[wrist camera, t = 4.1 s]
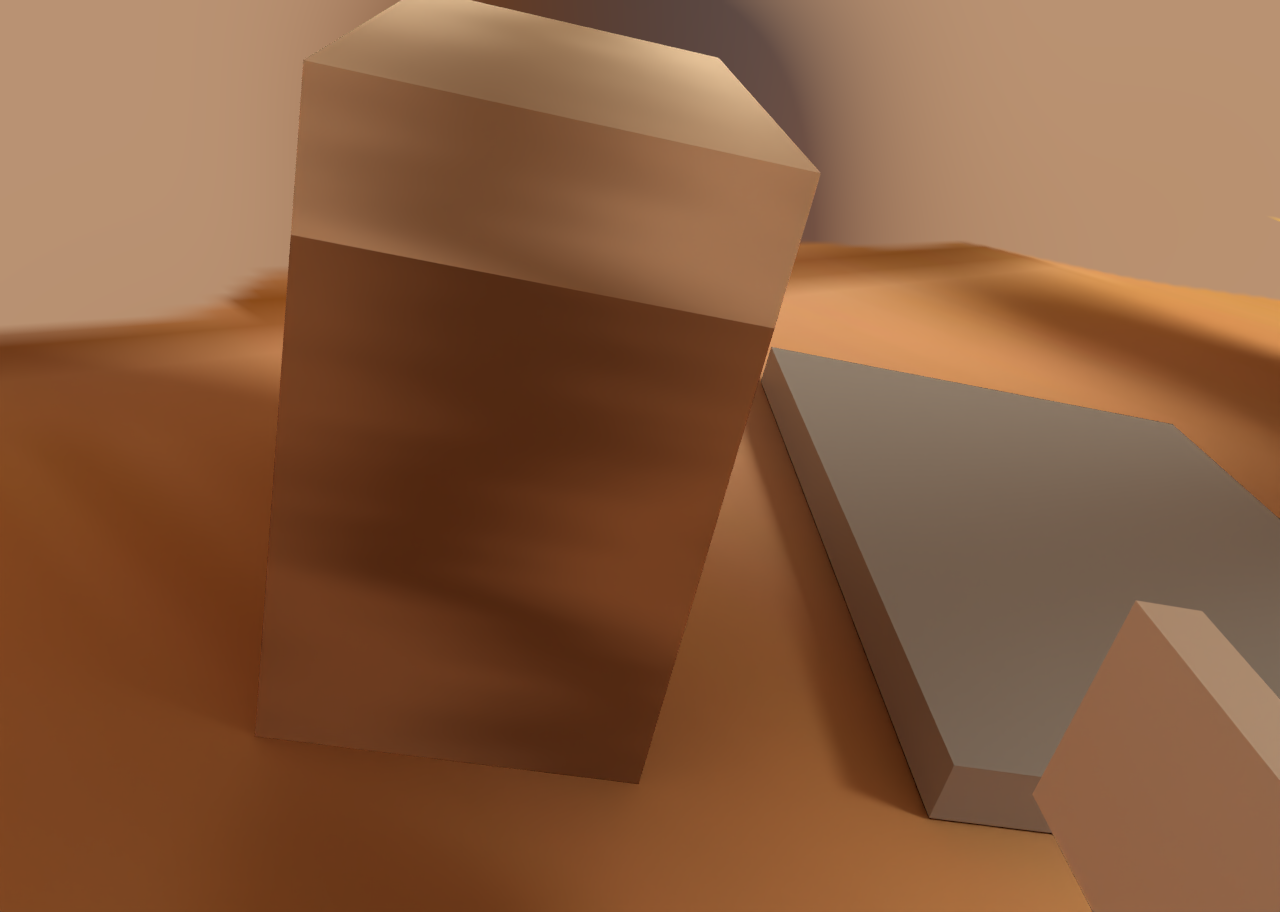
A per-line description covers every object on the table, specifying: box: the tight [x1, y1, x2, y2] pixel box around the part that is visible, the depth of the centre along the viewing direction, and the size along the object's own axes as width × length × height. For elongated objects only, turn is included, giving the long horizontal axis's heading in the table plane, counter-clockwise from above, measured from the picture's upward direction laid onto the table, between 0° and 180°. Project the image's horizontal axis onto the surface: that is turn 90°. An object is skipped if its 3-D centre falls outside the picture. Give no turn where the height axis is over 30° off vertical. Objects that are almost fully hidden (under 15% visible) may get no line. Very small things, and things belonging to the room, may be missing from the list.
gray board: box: [761, 347, 1280, 833], centre depth 26 cm, size 14×18×1 cm
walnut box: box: [255, 0, 821, 784], centre depth 19 cm, size 6×10×10 cm, turn 3°
